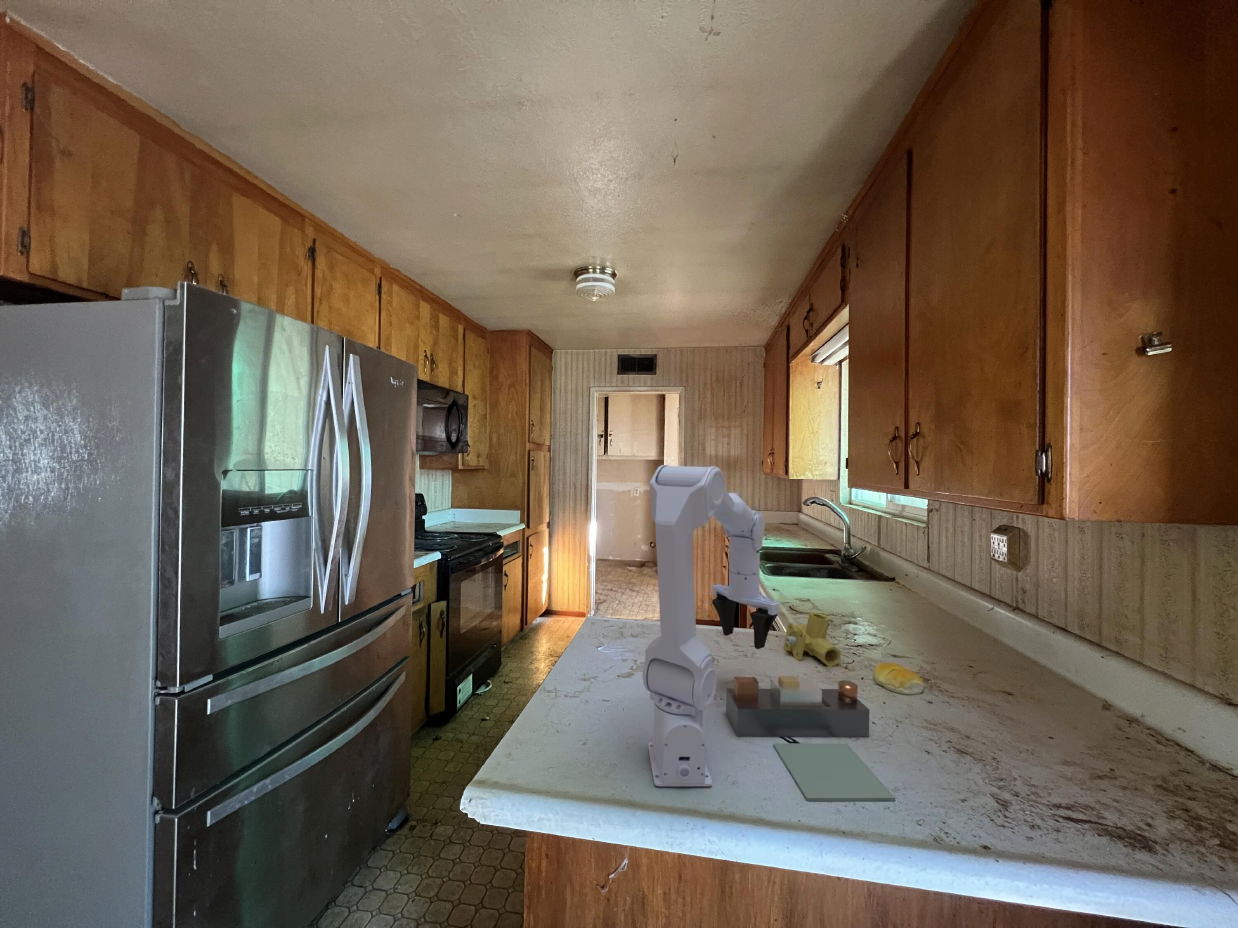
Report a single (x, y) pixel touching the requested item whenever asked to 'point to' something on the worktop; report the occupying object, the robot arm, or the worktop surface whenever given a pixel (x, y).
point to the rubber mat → (831, 773)
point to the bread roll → (897, 679)
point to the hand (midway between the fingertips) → (743, 640)
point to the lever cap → (795, 691)
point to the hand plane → (795, 713)
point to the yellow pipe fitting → (812, 640)
